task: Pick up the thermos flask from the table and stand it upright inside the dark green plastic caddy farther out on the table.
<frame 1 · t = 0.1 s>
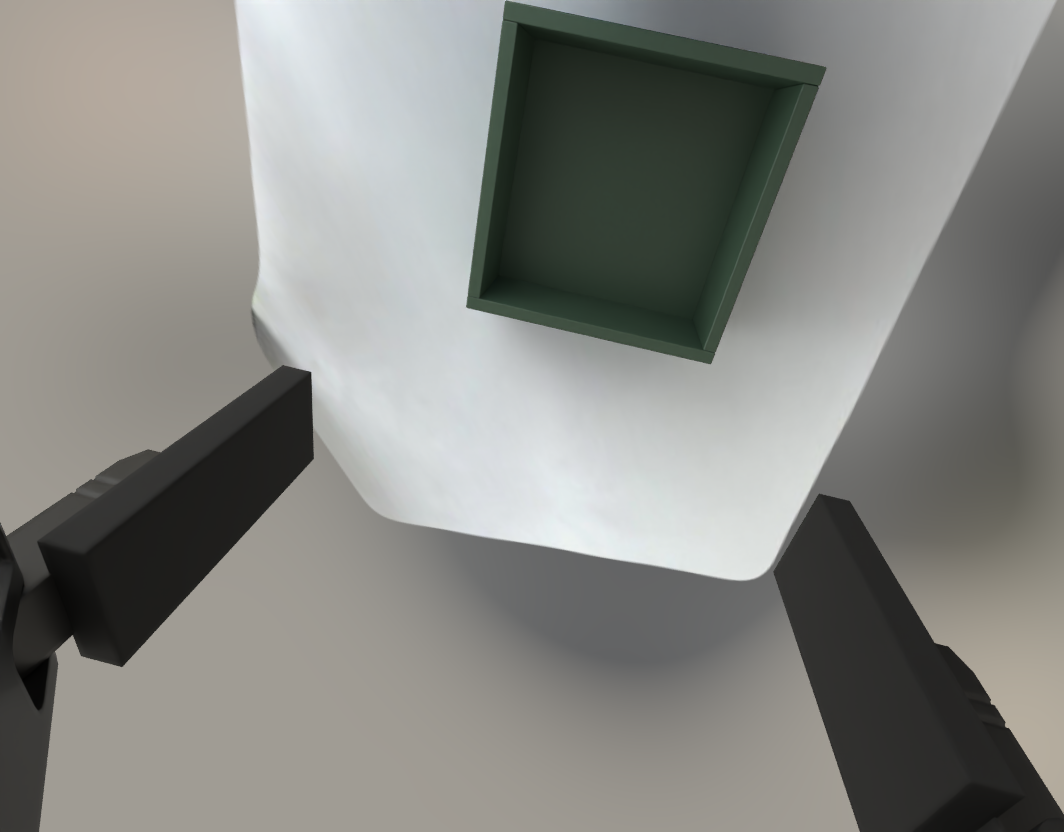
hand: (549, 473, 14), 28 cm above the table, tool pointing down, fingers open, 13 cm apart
caddy: (621, 191, 36), on the table
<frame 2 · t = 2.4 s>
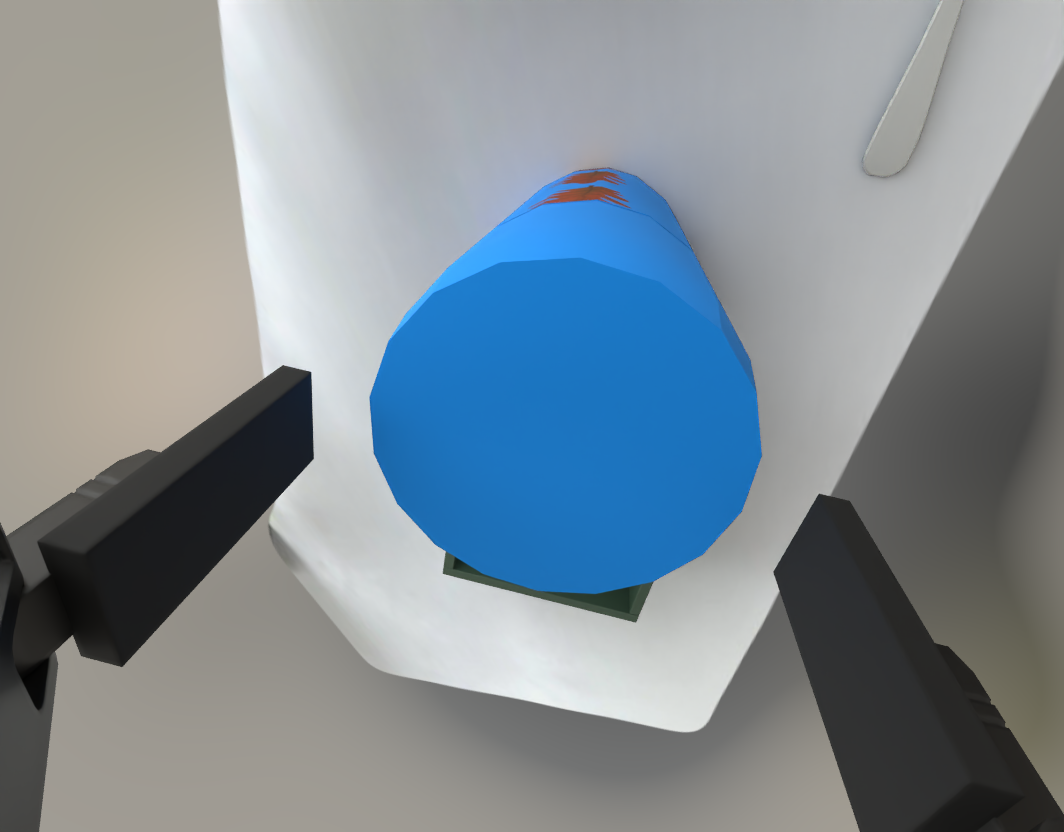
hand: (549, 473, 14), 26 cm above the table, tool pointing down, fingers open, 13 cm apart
thermos: (596, 252, 36), on the table
caddy: (567, 471, 45), on the table
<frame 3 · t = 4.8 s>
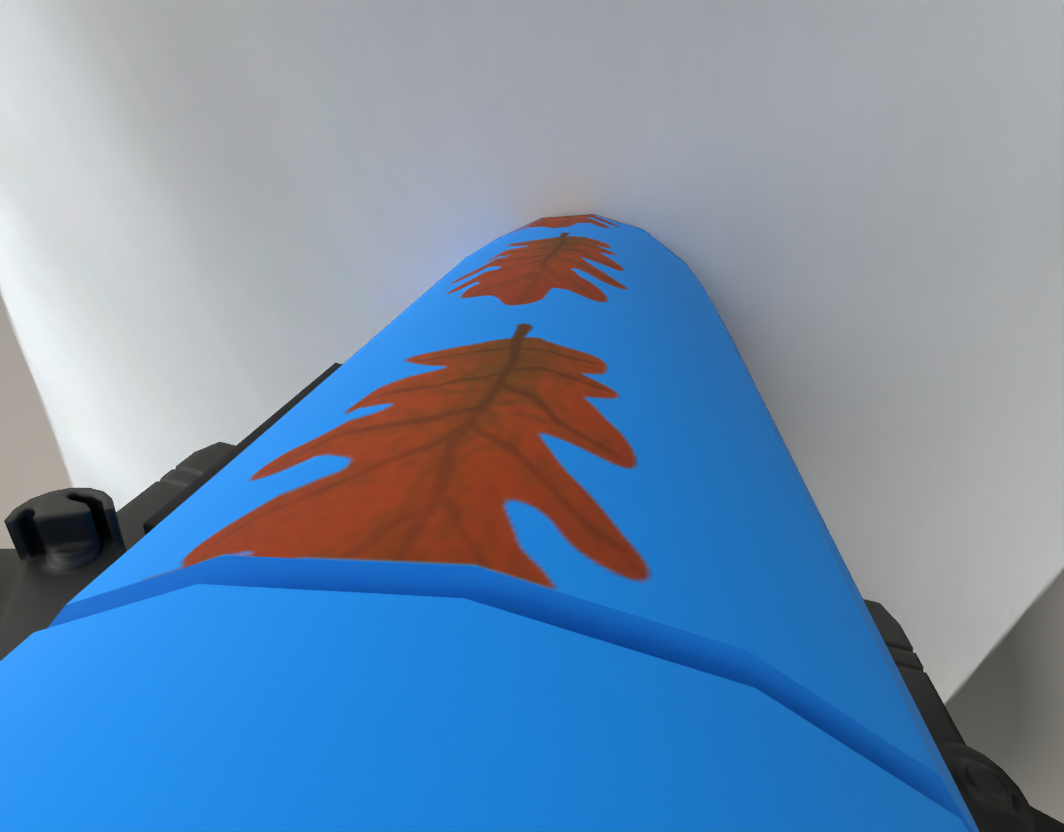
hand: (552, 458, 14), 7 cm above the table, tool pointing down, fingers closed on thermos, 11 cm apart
thermos: (575, 352, 21), on the table, touching gripper
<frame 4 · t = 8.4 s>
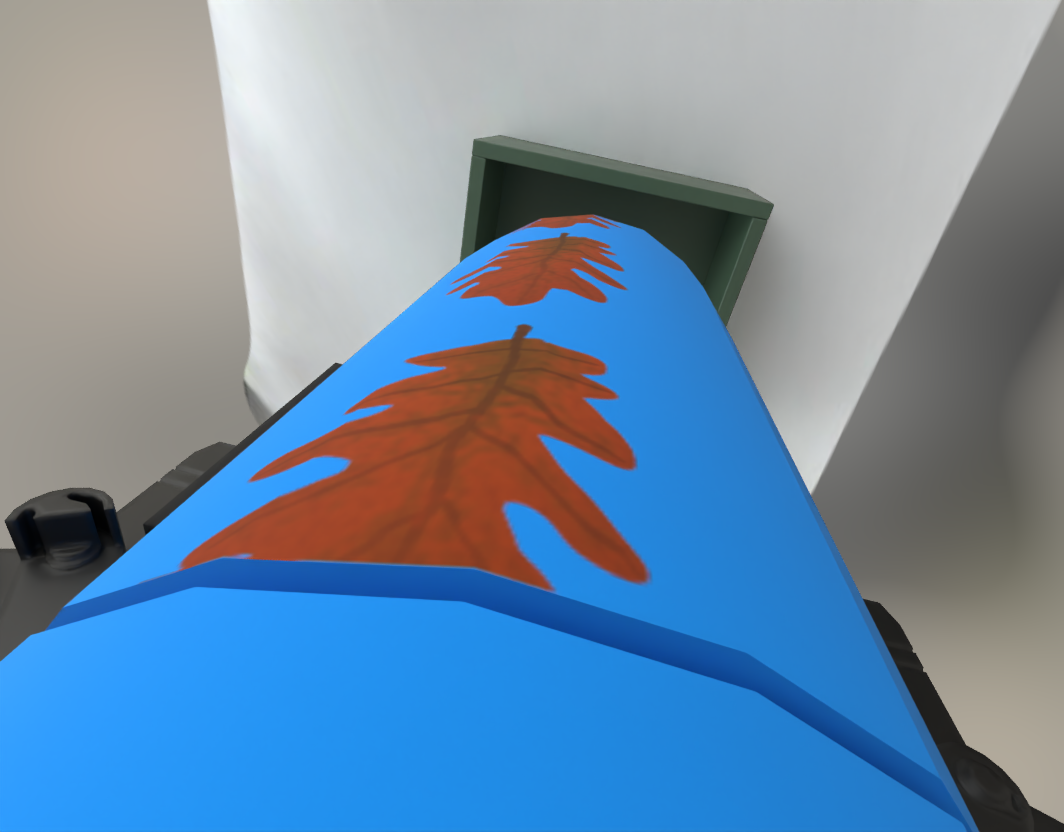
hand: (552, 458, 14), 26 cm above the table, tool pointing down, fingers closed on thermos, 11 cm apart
thermos: (575, 352, 21), point 18 cm above the table, touching gripper
caddy: (592, 284, 38), on the table
when the fingers open (8 cm above the table, at t = 12.2 s): thermos stays where it is, resting on caddy.
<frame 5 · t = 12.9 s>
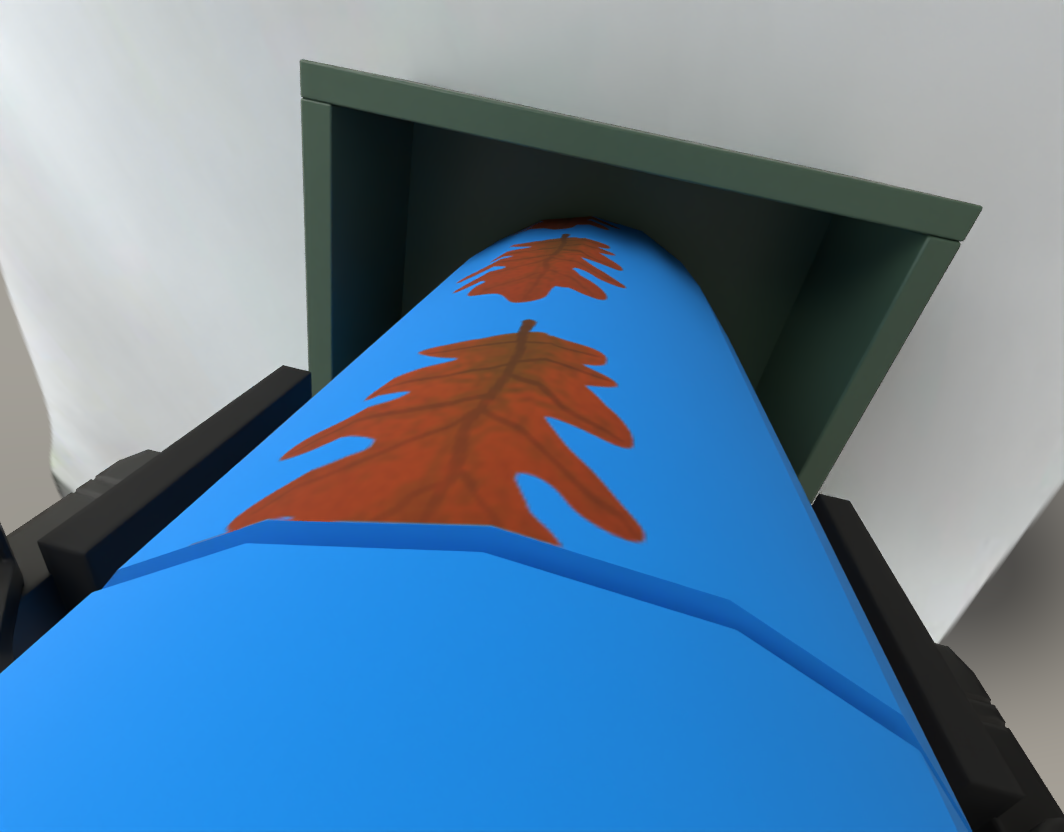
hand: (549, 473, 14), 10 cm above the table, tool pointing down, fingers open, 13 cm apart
thermos: (575, 350, 22), point 1 cm above the table, touching caddy
caddy: (576, 344, 22), on the table
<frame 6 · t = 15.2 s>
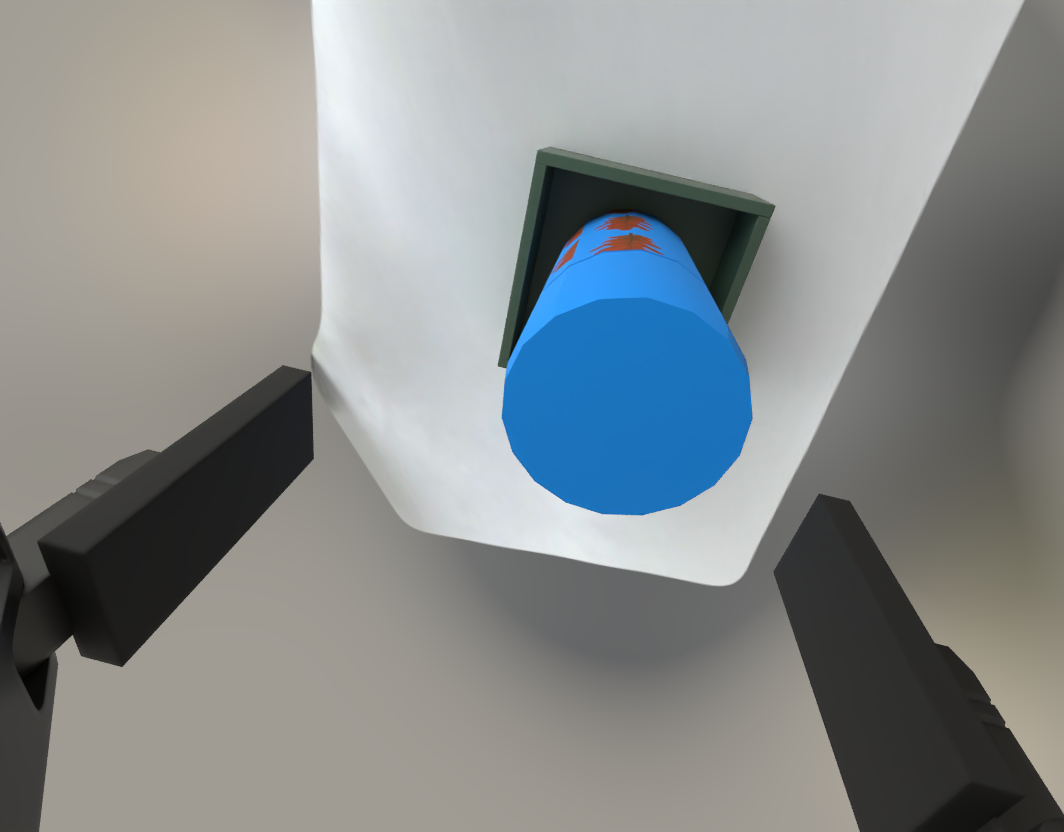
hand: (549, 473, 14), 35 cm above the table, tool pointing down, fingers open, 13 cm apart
thermos: (621, 274, 44), point 1 cm above the table, touching caddy
caddy: (621, 272, 45), on the table
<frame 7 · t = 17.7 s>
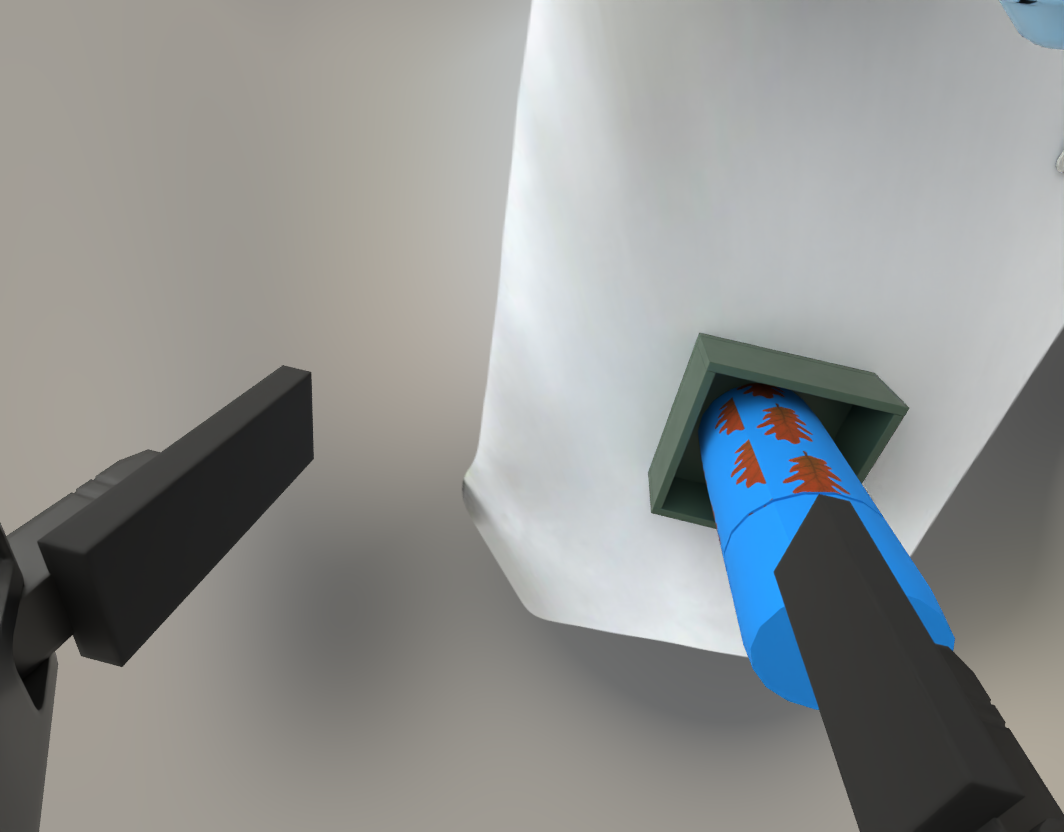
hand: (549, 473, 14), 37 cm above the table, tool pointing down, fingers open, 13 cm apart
thermos: (753, 430, 52), point 1 cm above the table, touching caddy
caddy: (752, 426, 52), on the table
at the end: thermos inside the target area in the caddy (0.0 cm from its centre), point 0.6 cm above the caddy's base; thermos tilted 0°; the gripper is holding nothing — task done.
